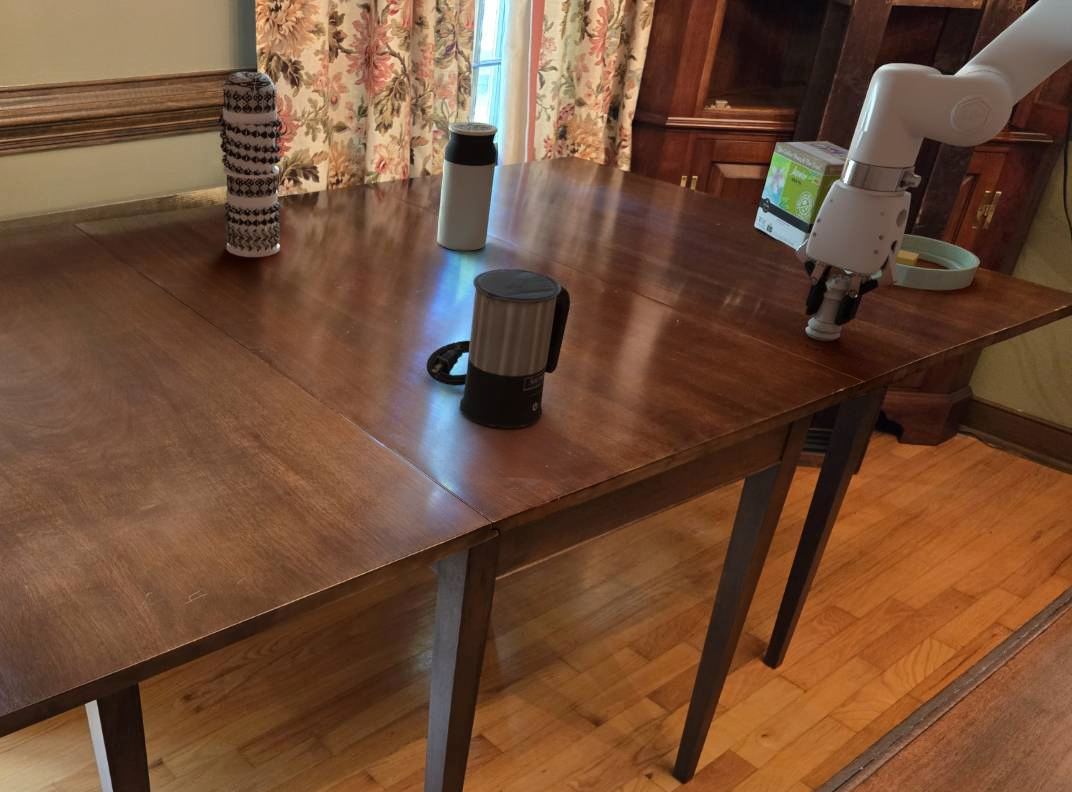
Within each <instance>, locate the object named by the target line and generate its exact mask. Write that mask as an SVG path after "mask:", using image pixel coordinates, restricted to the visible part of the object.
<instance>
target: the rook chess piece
mask: <svg viewBox="0 0 1072 792" xmlns="http://www.w3.org/2000/svg"><path fill="white" fill-rule="evenodd" d="M842 277H843V274H838V275H836V274H831V275H830V276H829V278H828V281H827V282H825V284H826V287H827V291H826V292H825V293H824V299H823V302H822V304H821V306H820V308H819V310H818V312H817V313H816V314H813V317H812V318H810V319H809V320H808V321H807V325H808V326H806V327H805V333H806V335H807V336H808V337H810V338H812V339H814V340H818V341H822V342H833V341H836V340H837V339H838V338H840V337H841V333H840V332H841V331H842V330H843V325H841V326H838V325H835V323H834V322H835V319H836V316H837V313H838V310H839V307H840V304H841V301H842V298H843V297H844V296H845V295H847V293H848V292H849V289H850V284H851V279H852V278H850V276H847V275H845V276H844V278H842Z"/></svg>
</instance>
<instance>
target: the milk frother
mask: <svg viewBox="0 0 1072 792" xmlns="http://www.w3.org/2000/svg"><path fill="white" fill-rule="evenodd" d="M473 286H474V288H475V291H474V300H473V310H472V320H471V329H470V336H469V337H470V339H469V340H461V341H456V342H452V343H448V344H446V345H443V346H441V347H439V348H437V349H436V350H434V351H433V352H432V353H431V354H430V355H429V357H428V359H427V362H426V371H427V374H428V375H429V376H430V377H431V378H432V379H433V380H435V381H437V382H439V383H441V384H444V385H449V386H452V387H453V386H454V387H455V386H457V387H458V386H464V388H463V394H462V397H461V399H460V402H459V409H460V411H461V413H462V414H463V415H464V416H465V417H466V418H468V419H469V420H471V421H473V422H475V423H477V424H479V425H483V426H486V427H491V428H492V427H493V428H496V429H497V428H499V429H518V428H525V427H528V426H531V425H533V424H535V423H537V421H539V420H540V418H541V417H542V416H543V415H542V414H543V408H542V401H543V391H544V384H545V375H546V374H553V373H554V372H555V371H556V369H557V367H558V364H559V359H560V355H561V349H562V346H563V341H564V336H565V332H566V327H567V323H568V317H569V312H570V308H571V297H570V293H569V291H568V290H567V288H566V287H564V286H562V285H561V284H560V283H559V282H558V281H557V280H556V279H555V278H554V277H552V276H548V275H545V274H543V273H541V272H537V271H533V270H526V269H519V268H516V269H514V268H512V269H511V268H502V269H501V268H498V269H493V270H487V271H484V272H481V273H479V274H478V275H476V276H475V277H474V278H473ZM467 353H468V357H467V367H466V373H463V374H451V371H452V370H453V369H454V367H455V365H456V364H458V363H459V359H460V358H461V357H462V356H463V354H467Z"/></svg>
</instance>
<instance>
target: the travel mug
mask: <svg viewBox="0 0 1072 792" xmlns="http://www.w3.org/2000/svg"><path fill="white" fill-rule="evenodd" d="M448 130H449V133H450V139H449V140H448V142H447V144H446V146H445V148H444V159H443V169H442V181H441V191H440V203H439V215H438V225H437V226H438V227H437V237H436V242H437V243H438V244H439V245H441V246H442V247H444V248H446V249H448V250H452V251H461V252H462V251H463V252H470V251H477V250H480V249H482V248H484V247H485V246H487V245H486V244H487V239H488V228H489V220H490V211H491V202H492V194H493V186H494V180H495V179H494V178H495V168H496V161H497V154H498V153H497V152H498V151H497V148H496V144H495V143H494V140H495V136H496V134H497V133H498V128H497V127H496V126H495V125H492V124H489V123H485V122H477V121H457V122H452V123H449V125H448Z"/></svg>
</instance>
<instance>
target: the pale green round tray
mask: <svg viewBox="0 0 1072 792" xmlns="http://www.w3.org/2000/svg"><path fill="white" fill-rule="evenodd" d="M899 250H903V251H908V252H913V253H918V254H919V257H918V259H920V260H923V261H926V262H931V263H934V264H936V265H939V266H942V267H945V268H946V269H941V268H940V269H938V268H925V267H919V266H915V267H912V266H907V265H902V264H898V263H895V265H896V270H897V275H898V281H897V282H896V283H894V284H893V285H895V286H900V287H905V288H911V289H919V290H929V291H954V290H959V289H960V290H961V289H964V288H967V287H969V286H971V284H972V283H973V281H974V280H975V279H974V278H975V276H976V274H977V271H978V270H979V267H980V264H981V261H980V259H979V257H978V256H977V255H976V254H975V253H973V252H972V251H969V250H967V249H965V248H963V247H961V246H958V245H956V244H952V243H949V242H945V241H942V240H938V239H935V238H930V237H927V236H926V237H925V236H921V235H915V234H914V235H913V234H907V233H904V235H903V239H902V242H901V246H900V249H899ZM842 270H843V271H844V272H845V273H846V274H847V275H850V274H853V272H850V271H847V270H844V269H842ZM881 275H882V271H881V270H879V272H878V273H877V274H875V275H872V276H871V279H874V278H878V277H881Z"/></svg>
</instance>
